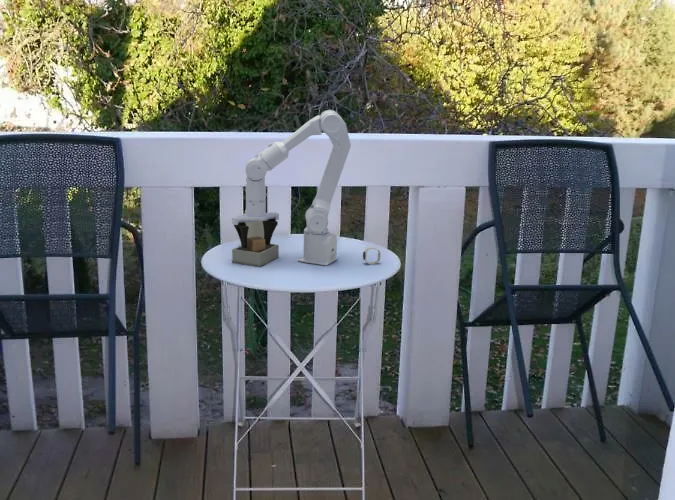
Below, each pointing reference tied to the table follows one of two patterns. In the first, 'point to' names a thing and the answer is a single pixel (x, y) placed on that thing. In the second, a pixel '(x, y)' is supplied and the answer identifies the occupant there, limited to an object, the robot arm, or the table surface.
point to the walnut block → (255, 244)
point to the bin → (255, 255)
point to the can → (255, 229)
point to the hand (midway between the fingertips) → (255, 245)
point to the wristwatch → (366, 255)
